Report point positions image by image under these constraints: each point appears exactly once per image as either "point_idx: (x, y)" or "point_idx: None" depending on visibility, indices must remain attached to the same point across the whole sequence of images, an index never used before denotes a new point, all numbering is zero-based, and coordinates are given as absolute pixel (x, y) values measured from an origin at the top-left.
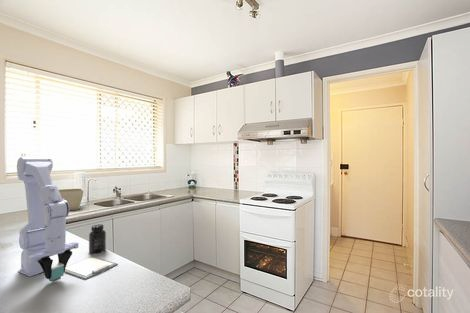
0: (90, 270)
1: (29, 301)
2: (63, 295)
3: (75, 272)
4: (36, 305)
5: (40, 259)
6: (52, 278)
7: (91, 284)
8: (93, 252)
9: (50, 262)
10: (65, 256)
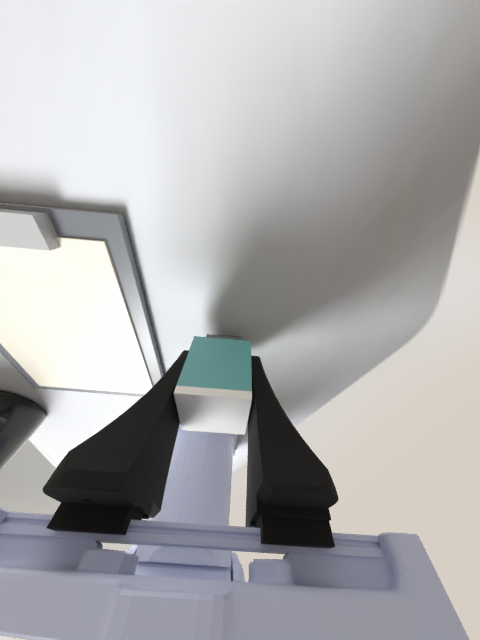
0: (63, 281)
1: (384, 284)
2: (312, 140)
3: (134, 332)
4: (434, 202)
5: (327, 533)
6: (248, 346)
7: (109, 57)
8: (26, 406)
9: (278, 459)
10: (136, 459)
